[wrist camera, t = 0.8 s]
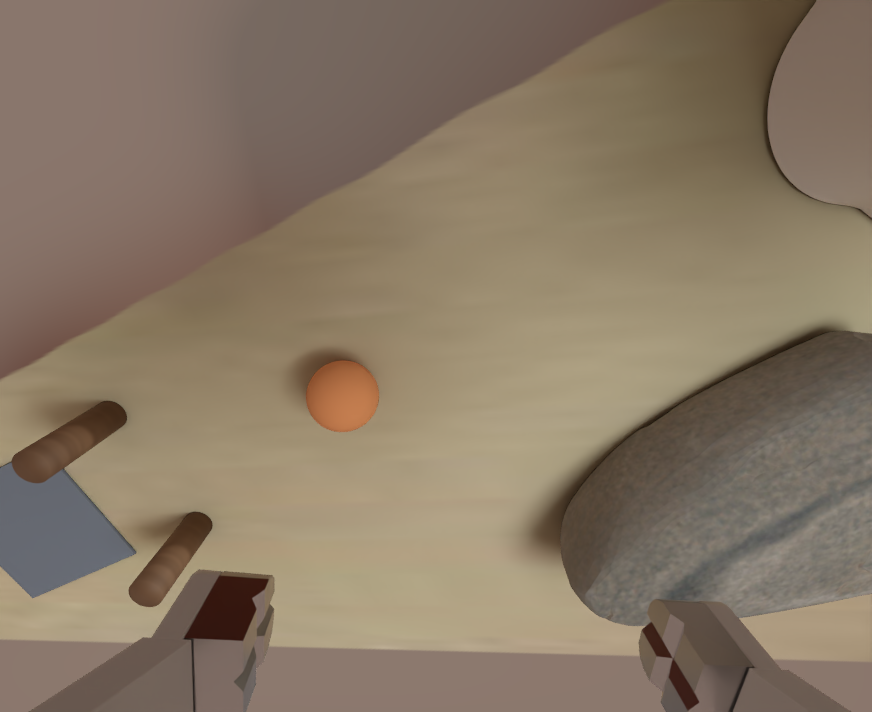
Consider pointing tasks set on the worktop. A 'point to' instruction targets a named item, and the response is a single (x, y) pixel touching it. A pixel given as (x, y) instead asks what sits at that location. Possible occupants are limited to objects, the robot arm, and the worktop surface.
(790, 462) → the stone
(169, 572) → the post
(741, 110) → the worktop surface
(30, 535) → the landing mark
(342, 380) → the ball
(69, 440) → the post
